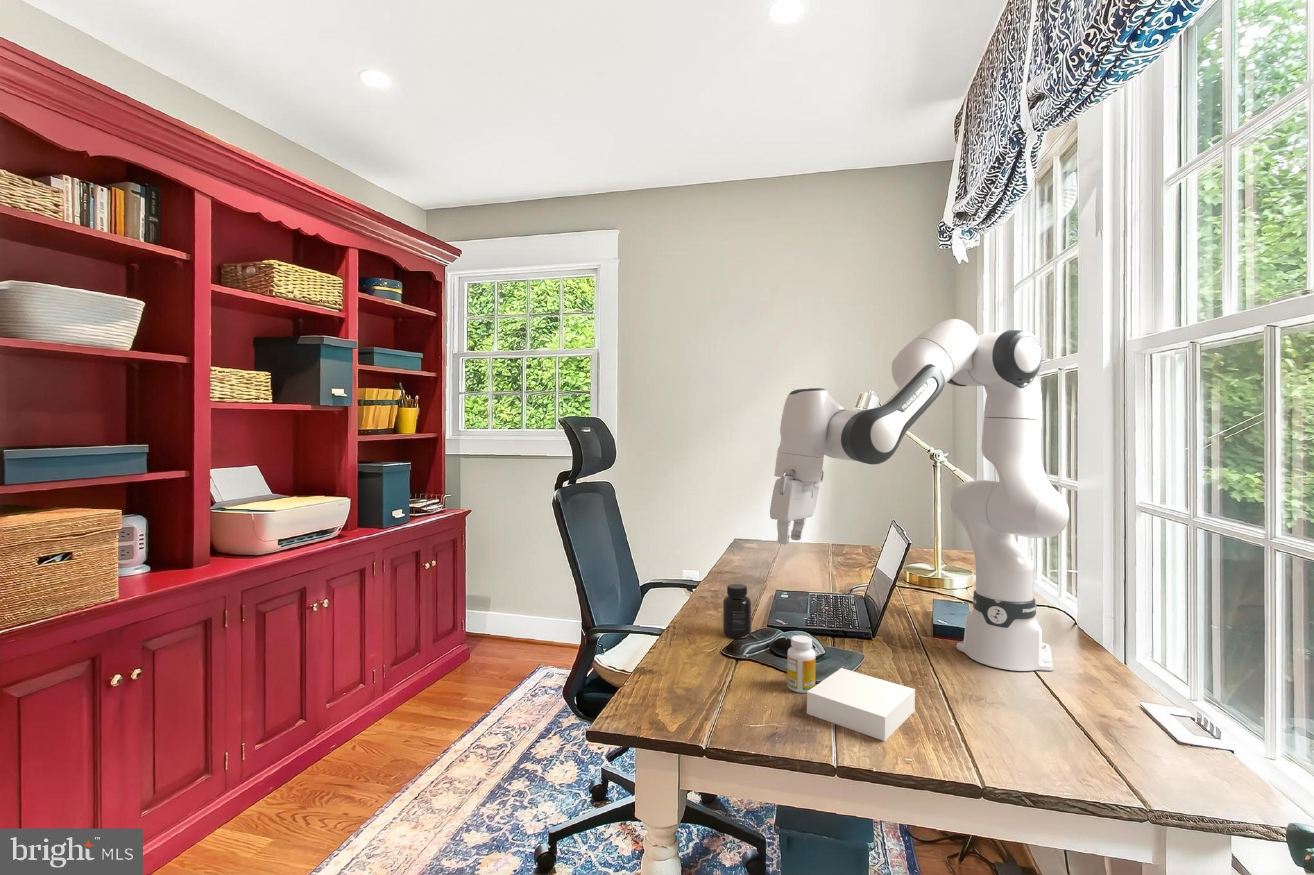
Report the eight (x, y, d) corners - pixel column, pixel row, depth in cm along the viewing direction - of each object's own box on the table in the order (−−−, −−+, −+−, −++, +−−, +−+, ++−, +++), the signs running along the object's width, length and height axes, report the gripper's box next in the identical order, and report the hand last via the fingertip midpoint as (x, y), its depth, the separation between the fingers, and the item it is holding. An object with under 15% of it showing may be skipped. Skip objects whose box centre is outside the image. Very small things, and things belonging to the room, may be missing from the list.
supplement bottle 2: (816, 683, 121) (816, 635, 121) (814, 695, 116) (814, 645, 116) (788, 680, 123) (789, 632, 123) (785, 691, 118) (785, 641, 118)
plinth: (841, 688, 119) (841, 667, 119) (914, 710, 110) (915, 689, 110) (806, 713, 109) (807, 691, 109) (884, 741, 99) (885, 717, 99)
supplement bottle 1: (755, 633, 150) (756, 585, 149) (744, 641, 144) (744, 591, 144) (730, 628, 153) (730, 581, 153) (718, 636, 148) (718, 587, 147)
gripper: (801, 471, 107) (791, 549, 106) (825, 473, 125) (817, 540, 125) (766, 466, 110) (757, 543, 109) (795, 469, 128) (787, 535, 127)
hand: (789, 541), depth 117 cm, fingers open, 8 cm apart
